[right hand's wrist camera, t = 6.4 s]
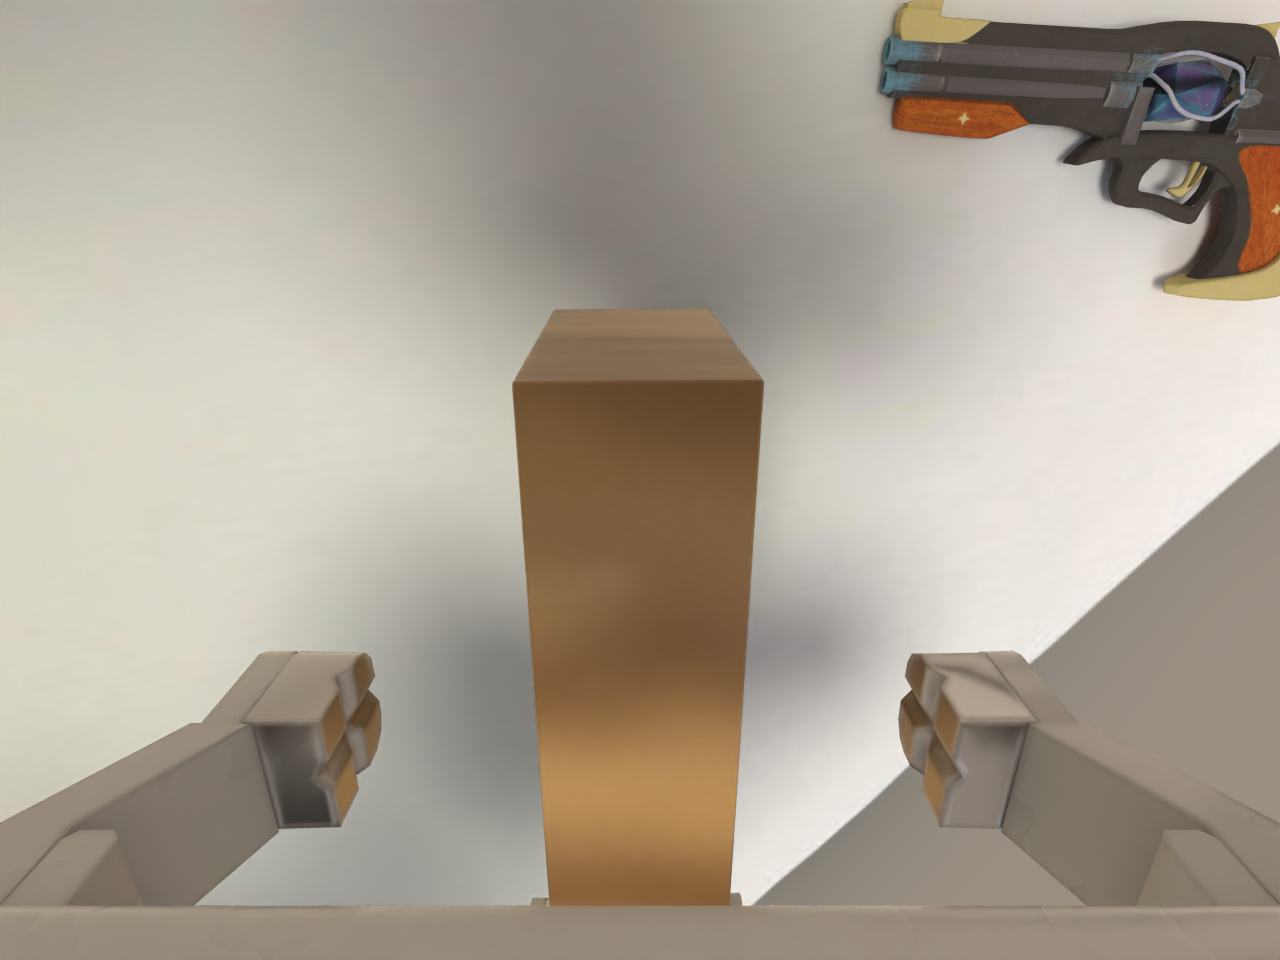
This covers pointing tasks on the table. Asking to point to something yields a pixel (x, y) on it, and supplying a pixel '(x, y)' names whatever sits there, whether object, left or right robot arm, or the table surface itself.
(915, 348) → the table surface
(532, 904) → the left robot arm
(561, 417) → the bar
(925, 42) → the toy gun
